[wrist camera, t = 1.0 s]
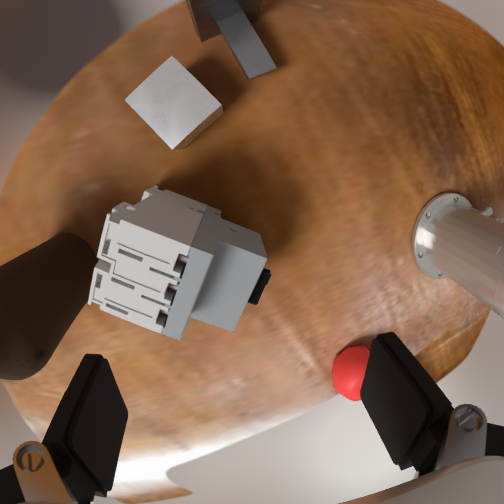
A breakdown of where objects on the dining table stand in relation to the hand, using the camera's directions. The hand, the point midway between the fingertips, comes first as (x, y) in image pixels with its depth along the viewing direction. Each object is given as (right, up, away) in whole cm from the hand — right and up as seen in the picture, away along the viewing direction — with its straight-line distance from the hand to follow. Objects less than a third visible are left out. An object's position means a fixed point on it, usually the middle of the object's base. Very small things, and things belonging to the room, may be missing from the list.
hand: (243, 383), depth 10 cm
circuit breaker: (-6, +6, +26) cm, 27 cm away
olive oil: (-24, +3, +26) cm, 35 cm away
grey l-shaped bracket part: (-1, +27, +19) cm, 33 cm away
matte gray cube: (-7, +20, +21) cm, 30 cm away
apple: (+15, -12, +34) cm, 39 cm away
